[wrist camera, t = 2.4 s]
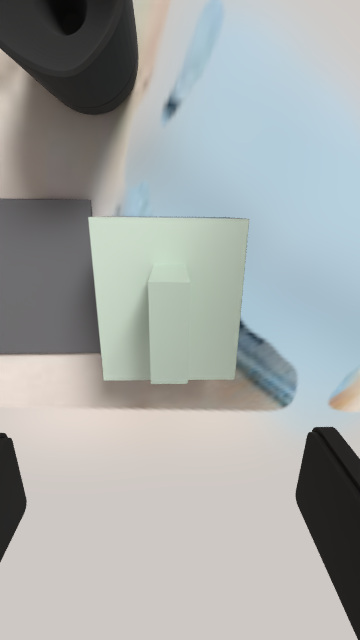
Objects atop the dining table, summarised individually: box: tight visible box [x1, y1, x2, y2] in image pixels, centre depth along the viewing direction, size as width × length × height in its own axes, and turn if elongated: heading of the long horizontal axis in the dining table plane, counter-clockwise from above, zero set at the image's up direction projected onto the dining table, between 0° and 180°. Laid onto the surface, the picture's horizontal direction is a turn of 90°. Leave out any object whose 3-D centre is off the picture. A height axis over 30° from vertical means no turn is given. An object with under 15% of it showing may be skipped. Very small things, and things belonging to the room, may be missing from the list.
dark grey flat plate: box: [0, 199, 101, 353], centre depth 31 cm, size 14×17×1 cm
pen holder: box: [0, 0, 138, 115], centre depth 20 cm, size 9×9×10 cm
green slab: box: [88, 217, 249, 384], centre depth 22 cm, size 12×14×8 cm
